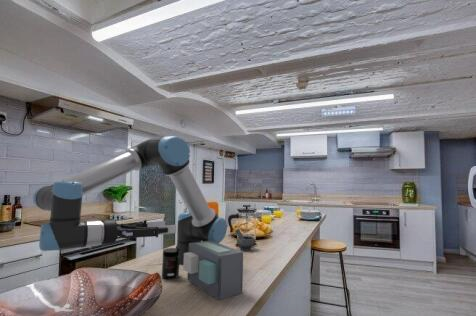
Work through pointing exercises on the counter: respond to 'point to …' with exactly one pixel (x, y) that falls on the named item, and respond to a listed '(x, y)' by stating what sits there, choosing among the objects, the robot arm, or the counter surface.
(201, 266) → the key teal
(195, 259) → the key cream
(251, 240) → the mortar and pestle
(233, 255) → the console
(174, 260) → the supplement container
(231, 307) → the counter surface
